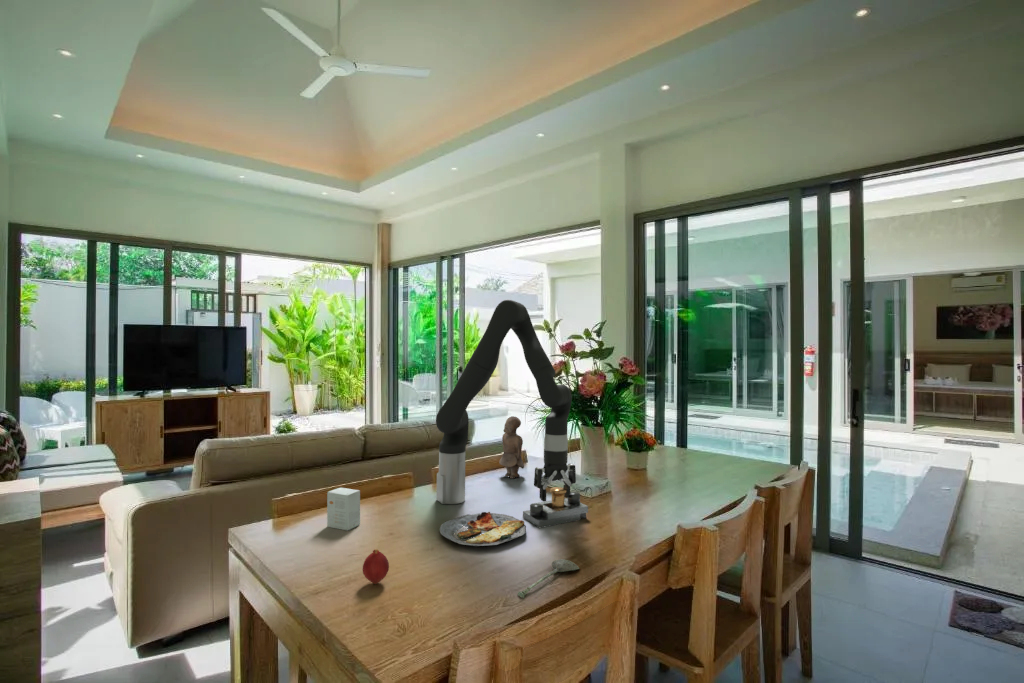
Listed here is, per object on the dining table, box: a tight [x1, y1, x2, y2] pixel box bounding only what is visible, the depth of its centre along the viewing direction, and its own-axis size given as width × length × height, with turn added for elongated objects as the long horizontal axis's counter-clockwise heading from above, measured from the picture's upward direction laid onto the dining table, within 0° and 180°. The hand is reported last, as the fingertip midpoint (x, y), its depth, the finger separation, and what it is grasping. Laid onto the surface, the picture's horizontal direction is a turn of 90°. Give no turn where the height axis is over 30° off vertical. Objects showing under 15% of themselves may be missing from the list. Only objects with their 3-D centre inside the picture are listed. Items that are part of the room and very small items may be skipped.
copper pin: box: [549, 486, 566, 510], centre depth 163 cm, size 5×5×9 cm
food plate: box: [439, 511, 527, 548], centre depth 149 cm, size 25×23×4 cm
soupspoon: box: [517, 558, 580, 599], centre depth 121 cm, size 22×3×7 cm
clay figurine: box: [498, 416, 525, 479], centre depth 212 cm, size 13×10×25 cm
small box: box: [326, 486, 361, 531], centre depth 154 cm, size 8×6×10 cm
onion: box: [362, 548, 390, 585], centre depth 118 cm, size 6×6×8 cm
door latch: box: [522, 491, 589, 528], centre depth 163 cm, size 18×10×7 cm, turn 118°
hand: (554, 498), depth 163 cm, fingers open, 8 cm apart
